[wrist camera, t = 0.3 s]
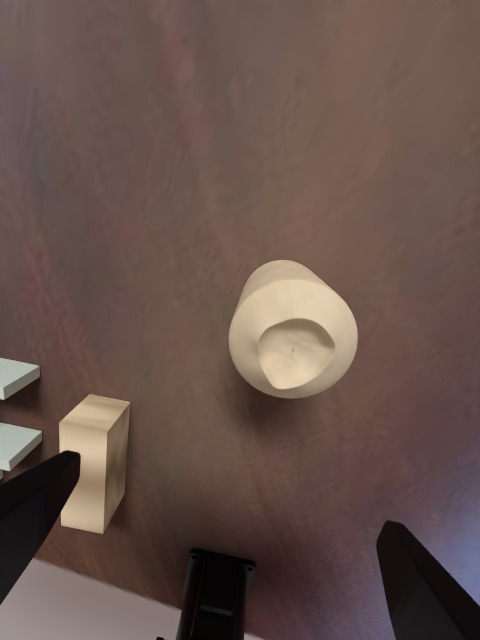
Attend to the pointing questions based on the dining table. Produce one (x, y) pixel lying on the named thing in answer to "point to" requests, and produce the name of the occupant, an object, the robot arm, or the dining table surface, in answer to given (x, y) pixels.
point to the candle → (291, 332)
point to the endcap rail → (8, 440)
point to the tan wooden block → (96, 460)
